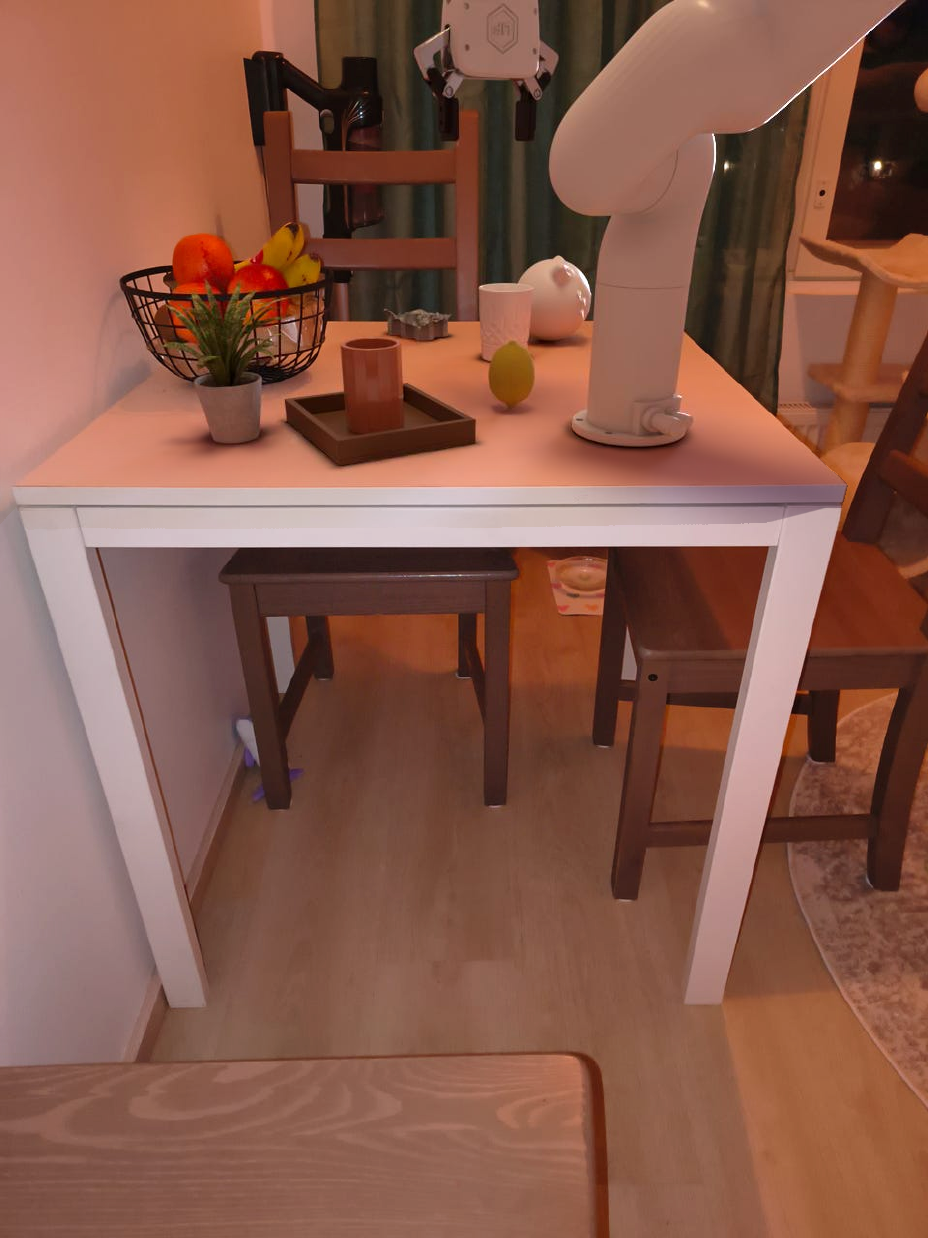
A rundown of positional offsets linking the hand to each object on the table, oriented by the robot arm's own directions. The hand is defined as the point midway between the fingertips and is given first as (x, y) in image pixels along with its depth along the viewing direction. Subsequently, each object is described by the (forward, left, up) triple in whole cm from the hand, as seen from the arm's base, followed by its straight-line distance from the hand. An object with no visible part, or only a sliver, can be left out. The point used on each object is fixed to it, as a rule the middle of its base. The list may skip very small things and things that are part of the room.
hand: (487, 140), depth 93 cm
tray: (-9, +19, -28) cm, 35 cm away
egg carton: (+38, -8, -28) cm, 48 cm away
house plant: (-4, +33, -28) cm, 44 cm away
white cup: (+16, -12, -28) cm, 35 cm away
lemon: (-8, +1, -28) cm, 30 cm away
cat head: (+24, -25, -28) cm, 45 cm away
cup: (-9, +19, -28) cm, 35 cm away
